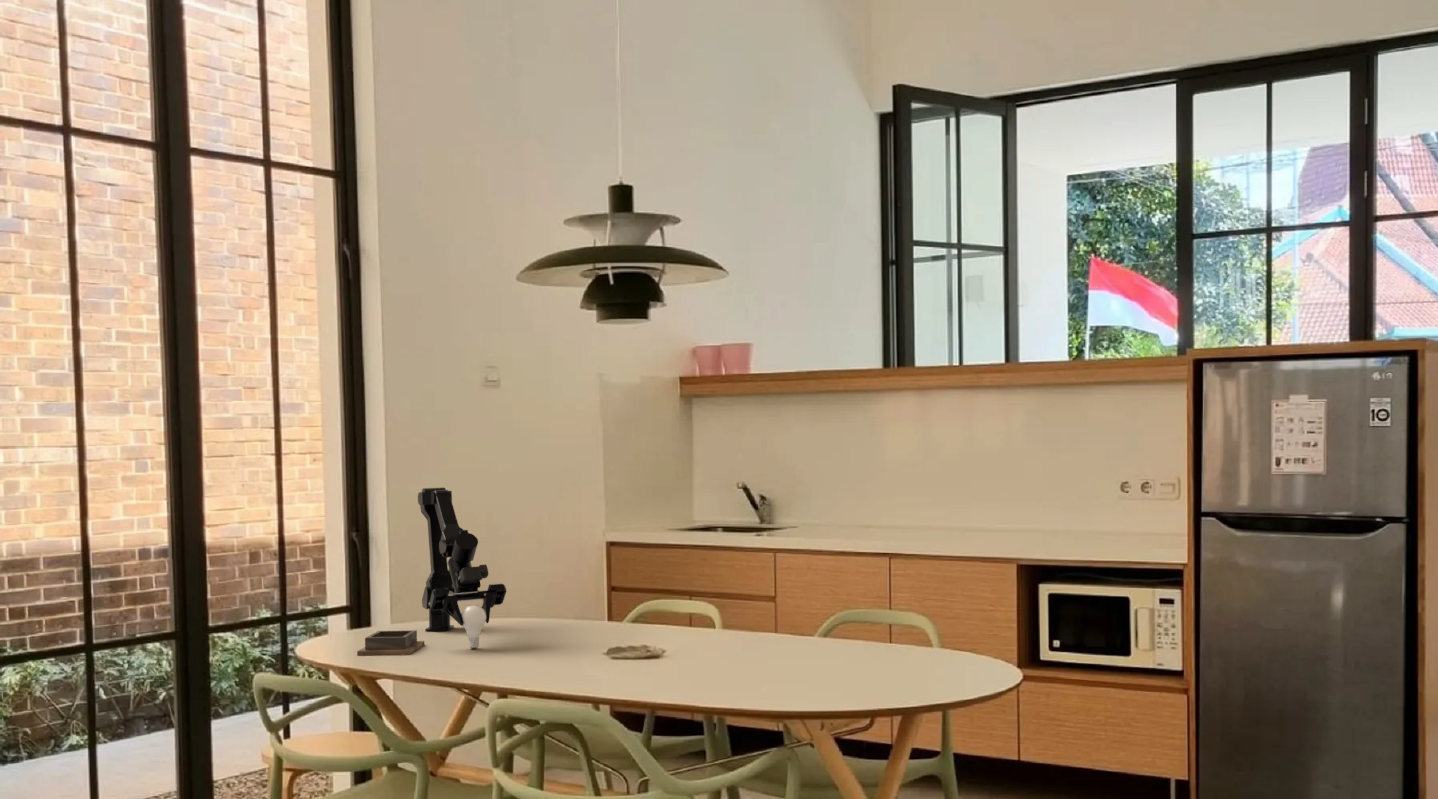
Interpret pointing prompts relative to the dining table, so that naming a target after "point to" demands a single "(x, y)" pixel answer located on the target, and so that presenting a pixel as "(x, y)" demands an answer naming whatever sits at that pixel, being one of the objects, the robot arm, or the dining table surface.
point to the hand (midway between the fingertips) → (475, 623)
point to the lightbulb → (473, 623)
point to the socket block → (391, 643)
